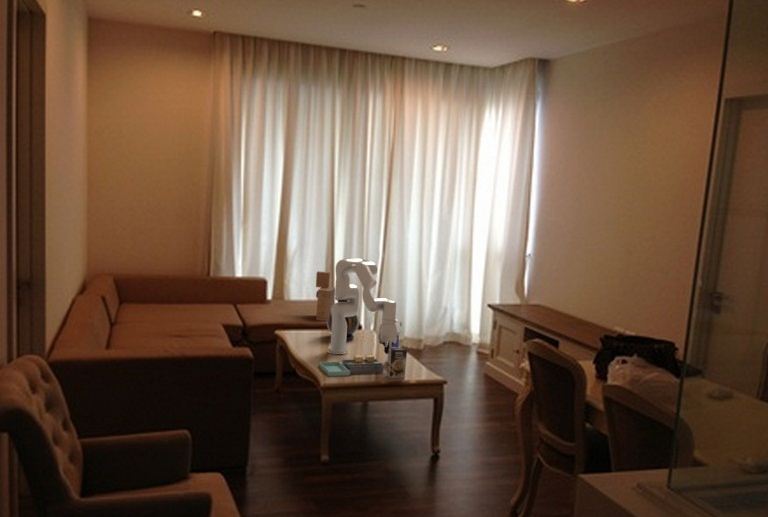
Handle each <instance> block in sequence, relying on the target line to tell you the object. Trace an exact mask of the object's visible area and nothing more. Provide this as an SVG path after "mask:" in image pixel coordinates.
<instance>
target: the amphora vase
mask: <svg viewBox="0 0 768 517" xmlns="http://www.w3.org/2000/svg"><path fill="white" fill-rule="evenodd" d="M334 300H336V301H337V303H338V302H347V300H337V299H336V297H335V296H334ZM357 314H358V313H357ZM357 314H356V315H355V316H352V317H345V320H346V322H347V337H346V341H350V340H353V339H354V338H355V335H354V334H355V333H356V332H357V330H358V328H359V323H360V322H359V317H358V315H357ZM326 326H327V329H328V331H329V332H330V335H329V336H330V338H331V332H332V314H331V312H330V314H329V316H328V320H327V321H326Z"/></svg>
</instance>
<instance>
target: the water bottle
mask: <svg viewBox="0 0 768 517" xmlns="http://www.w3.org/2000/svg"><path fill="white" fill-rule="evenodd" d="M399 327H401V328H402V327H403V323H402V322H399ZM399 337H401V331H397V340H396V343H394V344H392V345H391V347H390V348H400V347H399V346H400V338H399ZM386 362H388V354H386V358H385V363H386Z"/></svg>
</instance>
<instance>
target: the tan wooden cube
mask: <svg viewBox="0 0 768 517" xmlns="http://www.w3.org/2000/svg"><path fill="white" fill-rule="evenodd" d="M353 359H354V363H363V359H364V356H362V355H361V354H360V355H359V354H356V355H353Z"/></svg>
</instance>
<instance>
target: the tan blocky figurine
mask: <svg viewBox="0 0 768 517" xmlns="http://www.w3.org/2000/svg"><path fill="white" fill-rule="evenodd" d="M330 278H331V272H330V271H329V272H328V271H317V272H316V279H315V288H318V290H316V293H315V294H316V300H317V302H316V318H315V320H316V321H322V322H323V321H324V322H325V321H326V322H327V320H328V316H329V314H330V312H331V308H332V306H333V305H334V304H335V286H334V287H333V286H330Z"/></svg>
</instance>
